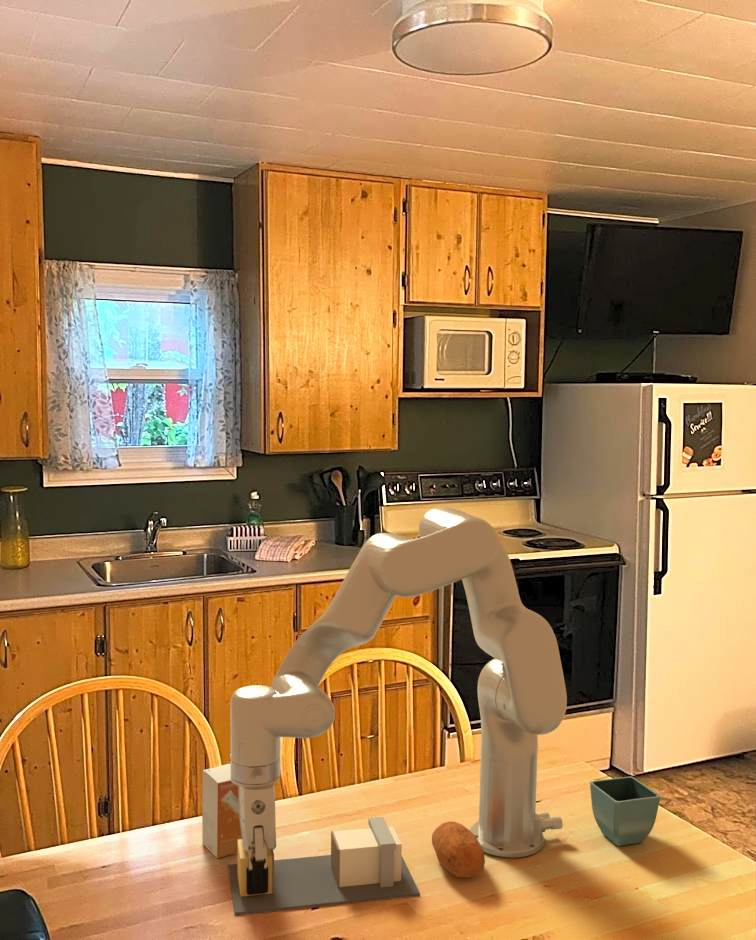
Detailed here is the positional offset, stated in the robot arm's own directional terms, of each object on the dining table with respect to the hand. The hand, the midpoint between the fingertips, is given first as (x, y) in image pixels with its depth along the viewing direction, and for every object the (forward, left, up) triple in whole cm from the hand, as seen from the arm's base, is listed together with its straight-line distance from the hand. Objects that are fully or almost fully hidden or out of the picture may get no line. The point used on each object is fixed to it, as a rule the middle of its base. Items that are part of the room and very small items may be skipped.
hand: (255, 880), depth 148 cm
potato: (-32, 0, -1) cm, 32 cm away
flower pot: (-63, -4, -1) cm, 64 cm away
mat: (-10, 0, -1) cm, 10 cm away
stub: (0, 0, -1) cm, 1 cm away
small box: (+3, -14, -1) cm, 14 cm away
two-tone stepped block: (-17, 0, -1) cm, 17 cm away
